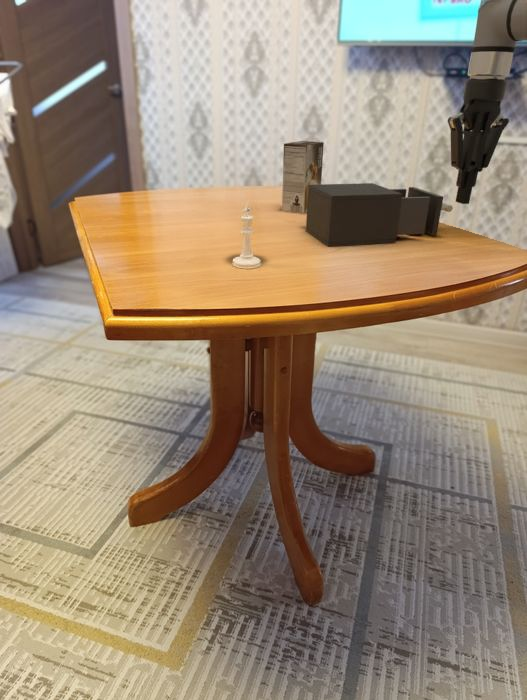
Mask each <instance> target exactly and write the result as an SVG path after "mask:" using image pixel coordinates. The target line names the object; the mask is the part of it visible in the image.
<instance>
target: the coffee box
mask: <svg viewBox="0 0 527 700" xmlns="http://www.w3.org/2000/svg"><path fill="white" fill-rule="evenodd" d="M324 144H325V142H324V141H306V140H299V141H292V142H286V143H283V161H282V163H283V164H282V193H281V194H282V195H281V197H282V199H281V211H284V212H292V213H297V214H307V204H308V187H309V185H320V184H322V176H323V175H322V174H323V159H324V158H323V157H324V146H325V145H324Z"/></svg>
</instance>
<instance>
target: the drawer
mask: <svg viewBox="0 0 527 700" xmlns="http://www.w3.org/2000/svg"><path fill="white" fill-rule="evenodd" d="M389 189H390V190H393V191H396V192H399V193H401V194H402V200H401V207H400V214H399V221H398V228H397V236H408V235H425V234H427V235H429V236H431V237H436V236H437V235H438V230H439V224H440V219H441V212H442V211H444V212H447V213H451V212H452V211H453V206H452V205H451V204H448V203H446V202H443V201H444V196H443V195H440V194H437V193H433V192H430V191H427V190H425V189H422V188H418V187H415V186H409V187H408V191H407V189H406V188H389Z"/></svg>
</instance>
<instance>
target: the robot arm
mask: <svg viewBox="0 0 527 700" xmlns="http://www.w3.org/2000/svg"><path fill="white" fill-rule="evenodd" d="M525 41H527V0H480V3H479V7H478V10H477V18H476V25H475V31H474V38H473V44H472V48H471V52H470V59H469V63H468V70H467V76H468V77H469V79H466V81H465V85H464V89H463V90H464V91H463V96H462V99H463V104H462V106H461V107H460V109H459V113H457V114H456V115H454V116H449V117H448V119H447V123H448V127H449V129H450V130H449V131H450V166H451V167H453V168H455V169H456V170H457V171H458V172H457V178H456V183H455V184H456V187H457V191H456V197H455V202H456V203H458V204H462V205H469V204H470V200H471V196H472V191H473V188H475V186H476V184H477V179H478V175H479V173H481V172H482V171H483V170H484V169H486V168H488V167H489V165H490V162H491V161H492V158H493V155H494V153H495V151H496V148H497V146H498V143H499V140H500V138H501V136H502V134H503V131H504V130H505V128H506V127H507V126H508V124H509V123H510V119H509V118H507V117H504V116H503V114H502V110H501V109H502V108H501V103H502V101H503V100H504V98H505V94H506V89H507V85H508V81H507V80H505V79H506V78H508V77H509V76H510V72H511V67H512V62H513V58H514V51H515V48H516V44H517V42H525Z"/></svg>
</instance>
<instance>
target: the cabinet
mask: <svg viewBox="0 0 527 700" xmlns="http://www.w3.org/2000/svg"><path fill="white" fill-rule="evenodd" d="M390 189H391V188H387V187H384V186H382V185H379V184H376V183H373V182H371V183H369V182H367V183H364V182H363V183H362V182H361V183H329V184H328V183H325V184H322V183H321V184H320V185H309V187H308V204H307V213H306V221H305V232H307V233H308V234H309V235H311V236H312V237H314V238H315V239H317V240H318V241H319V242H321V243H322V244H323V245H324V246H326V247H328V248H330V247H347V246H365V245H379V244H380V245H382V244H384V245H385V244H395V243H397V242H396V241H397V236H398V235H397V228H398V221H399V214H400V207H401V200H402V194H401V193H399V192H396V191H393V190H390Z"/></svg>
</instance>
